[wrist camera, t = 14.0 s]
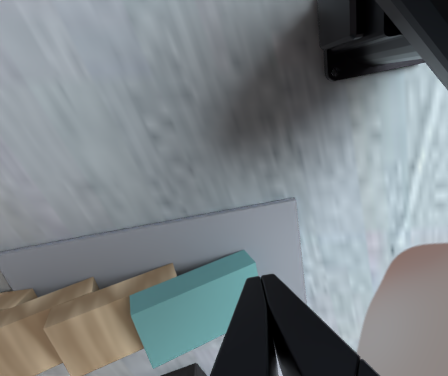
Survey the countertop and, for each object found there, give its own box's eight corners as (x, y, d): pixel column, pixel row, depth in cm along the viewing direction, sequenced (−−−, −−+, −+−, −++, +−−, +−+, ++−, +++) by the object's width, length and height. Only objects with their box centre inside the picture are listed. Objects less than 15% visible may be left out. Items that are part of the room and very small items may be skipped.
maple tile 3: (92, 291, 20) (-56, 349, 17) (114, 339, 22) (-17, 399, 19) (93, 276, 22) (-40, 327, 19) (113, 321, 23) (-6, 374, 21)
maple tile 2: (177, 276, 19) (43, 328, 17) (192, 326, 21) (73, 379, 19) (172, 262, 21) (51, 307, 19) (187, 309, 23) (77, 356, 21)
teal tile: (253, 297, 23) (149, 345, 20) (243, 249, 21) (129, 295, 18) (264, 314, 21) (153, 368, 18) (255, 262, 19) (130, 315, 17)
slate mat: (294, 197, 20) (295, 200, 20) (306, 315, 24) (308, 319, 24) (-3, 252, 21) (-9, 256, 21) (58, 356, 25) (55, 361, 25)
